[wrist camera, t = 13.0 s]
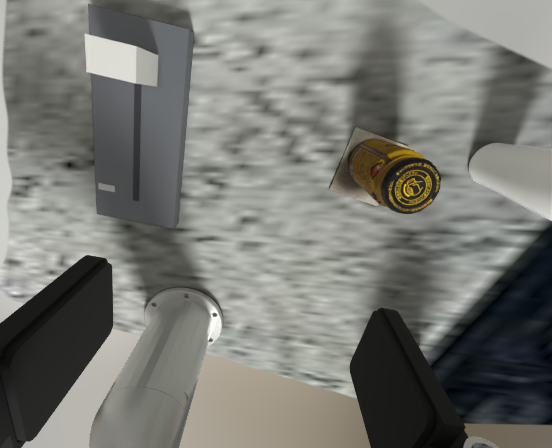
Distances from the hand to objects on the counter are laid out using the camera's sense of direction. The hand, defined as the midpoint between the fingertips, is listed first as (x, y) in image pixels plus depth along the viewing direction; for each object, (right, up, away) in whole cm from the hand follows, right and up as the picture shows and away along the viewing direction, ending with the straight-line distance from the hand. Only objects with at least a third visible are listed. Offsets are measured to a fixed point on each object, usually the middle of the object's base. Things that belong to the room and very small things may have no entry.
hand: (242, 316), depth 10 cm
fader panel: (-15, +15, +24) cm, 32 cm away
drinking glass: (+29, +11, +26) cm, 40 cm away
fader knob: (-14, +20, +20) cm, 31 cm away
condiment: (+13, +11, +27) cm, 31 cm away
